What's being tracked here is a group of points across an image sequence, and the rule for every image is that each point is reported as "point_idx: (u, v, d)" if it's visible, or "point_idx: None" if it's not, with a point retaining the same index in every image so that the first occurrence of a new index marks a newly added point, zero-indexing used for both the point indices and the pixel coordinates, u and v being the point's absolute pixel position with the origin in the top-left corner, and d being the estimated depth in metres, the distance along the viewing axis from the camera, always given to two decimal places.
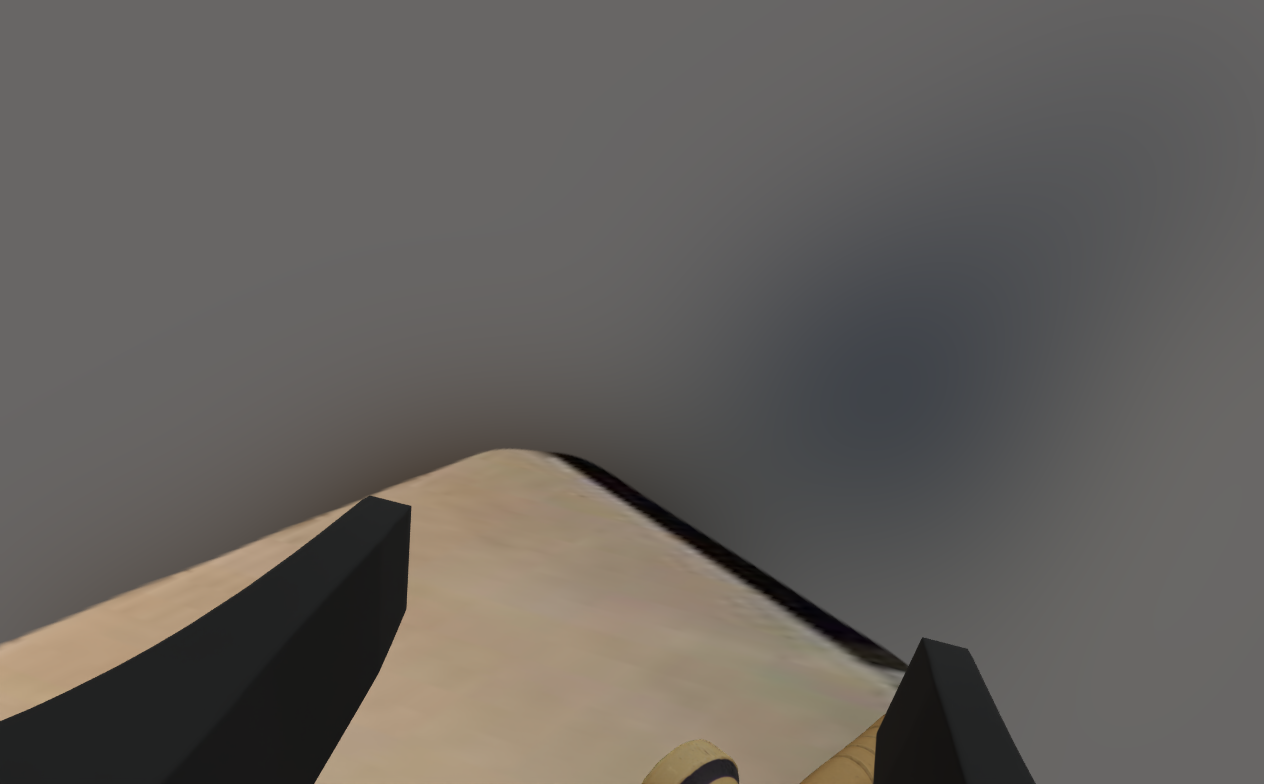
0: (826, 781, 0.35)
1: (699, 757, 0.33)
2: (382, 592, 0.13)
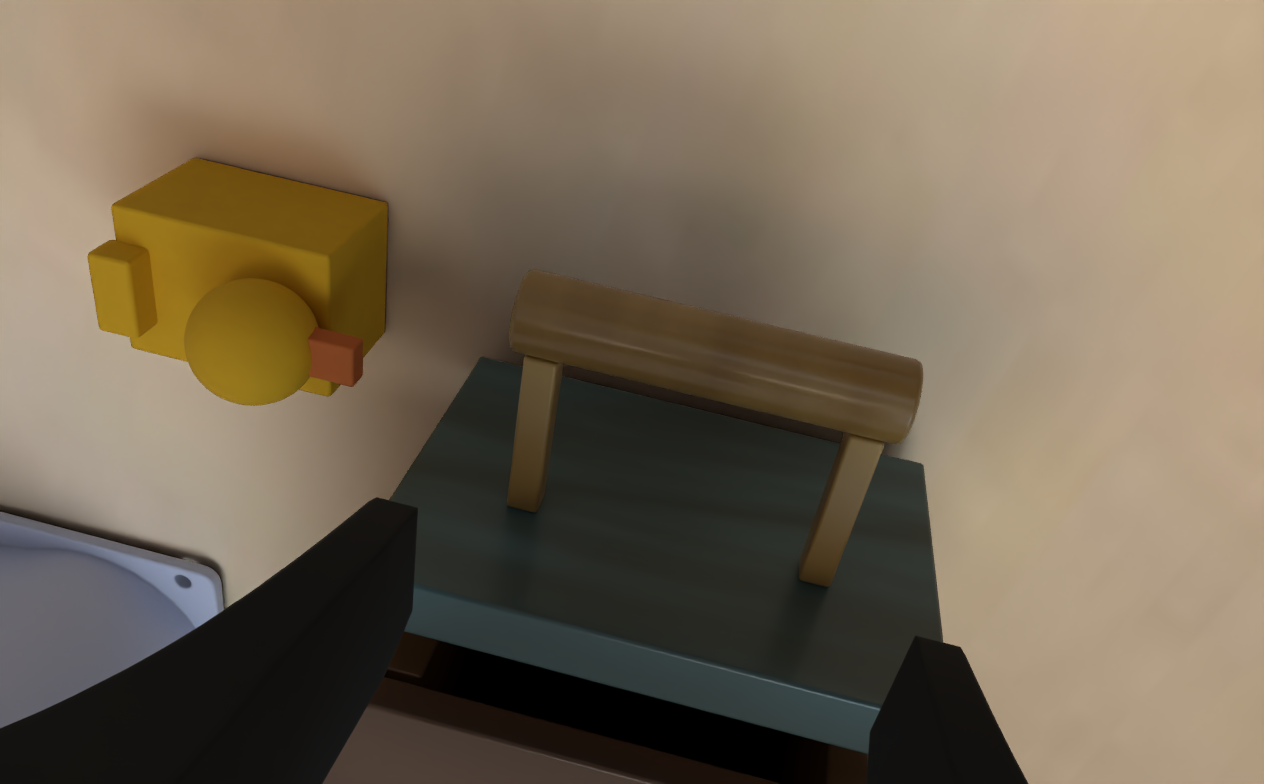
0: None
1: None
2: (389, 594, 0.13)
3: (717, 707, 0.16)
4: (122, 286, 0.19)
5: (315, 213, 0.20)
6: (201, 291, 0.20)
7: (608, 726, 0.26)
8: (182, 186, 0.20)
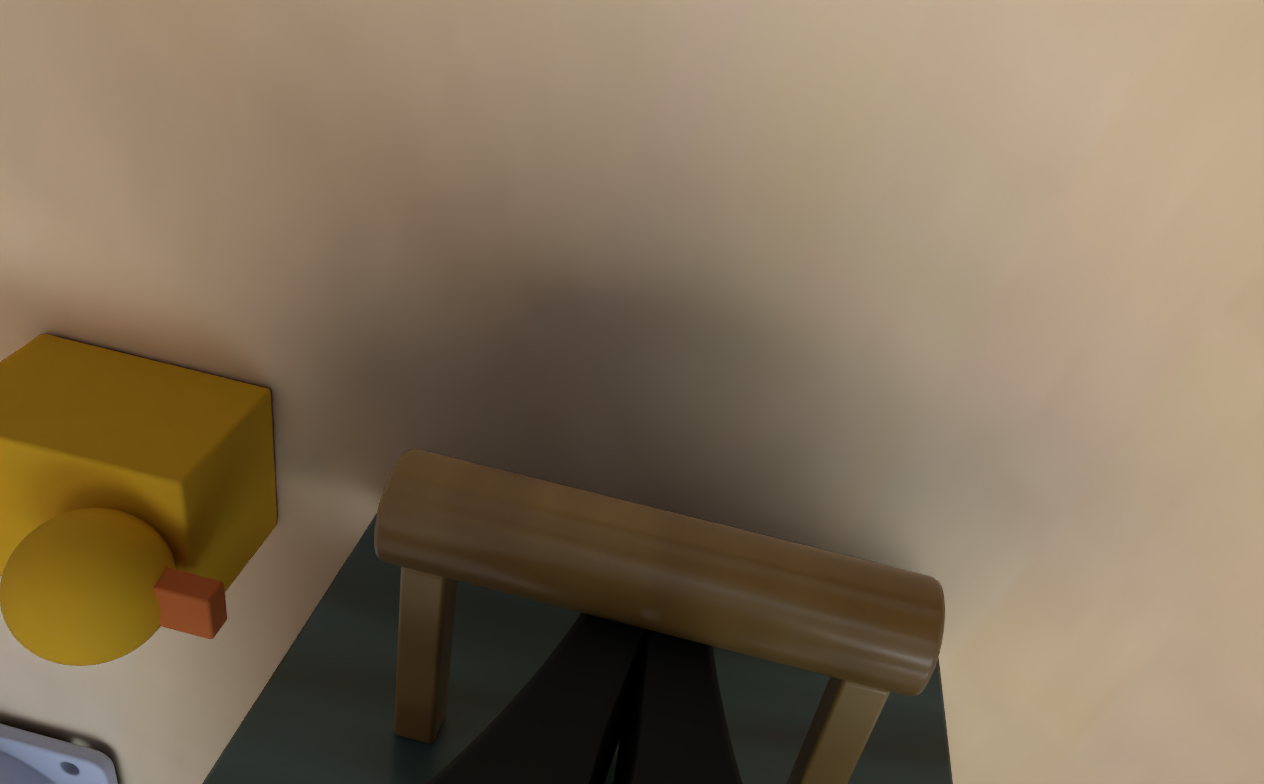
0: None
1: None
2: None
3: None
4: None
5: (176, 413, 0.17)
6: (35, 512, 0.17)
7: None
8: (17, 381, 0.17)
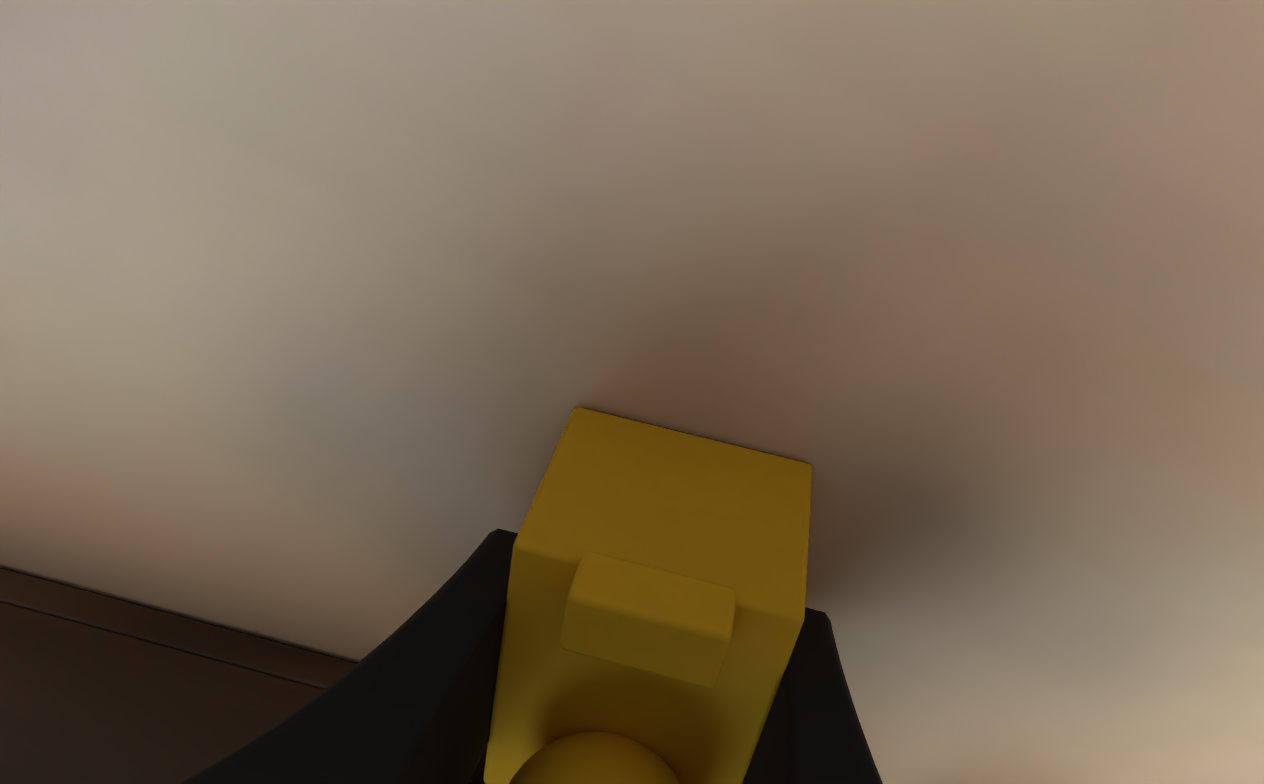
0: None
1: None
2: None
3: None
4: (666, 667, 0.11)
5: None
6: (647, 691, 0.12)
7: None
8: None
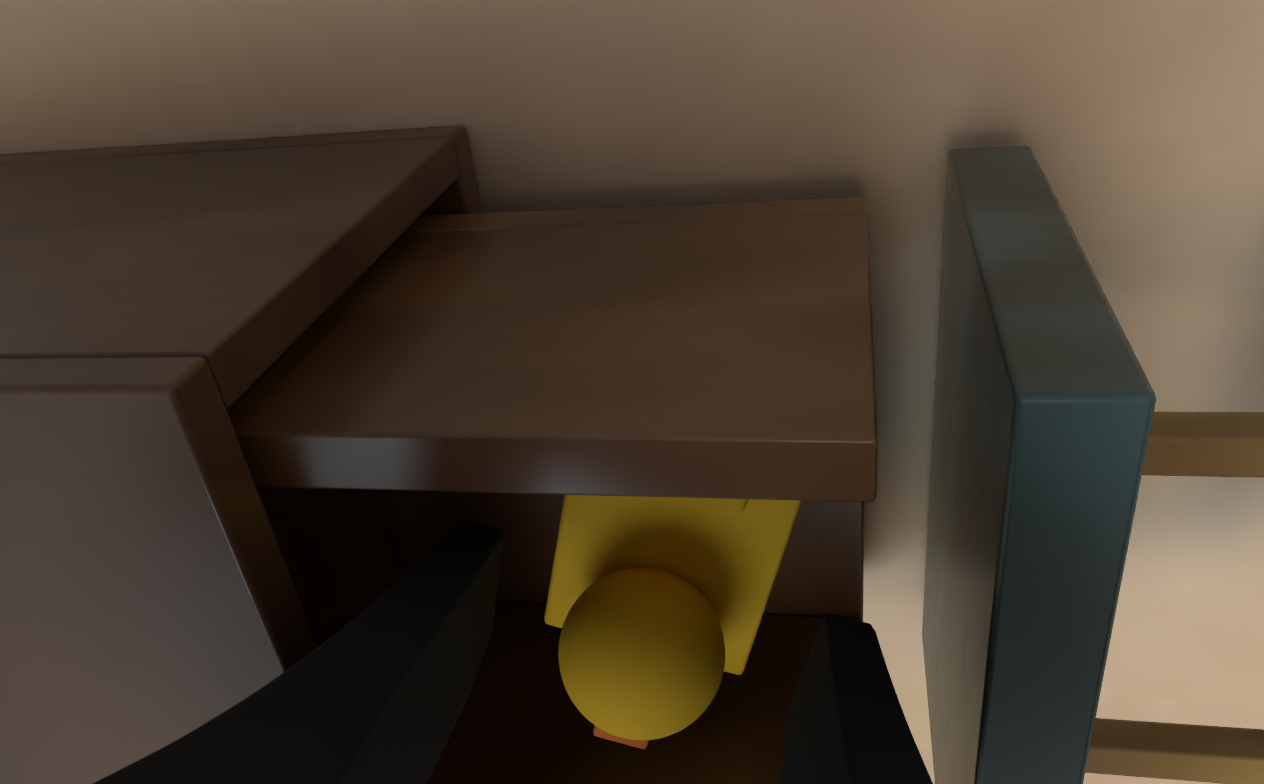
0: None
1: None
2: (477, 617, 0.13)
3: None
4: None
5: None
6: (685, 528, 0.14)
7: None
8: None
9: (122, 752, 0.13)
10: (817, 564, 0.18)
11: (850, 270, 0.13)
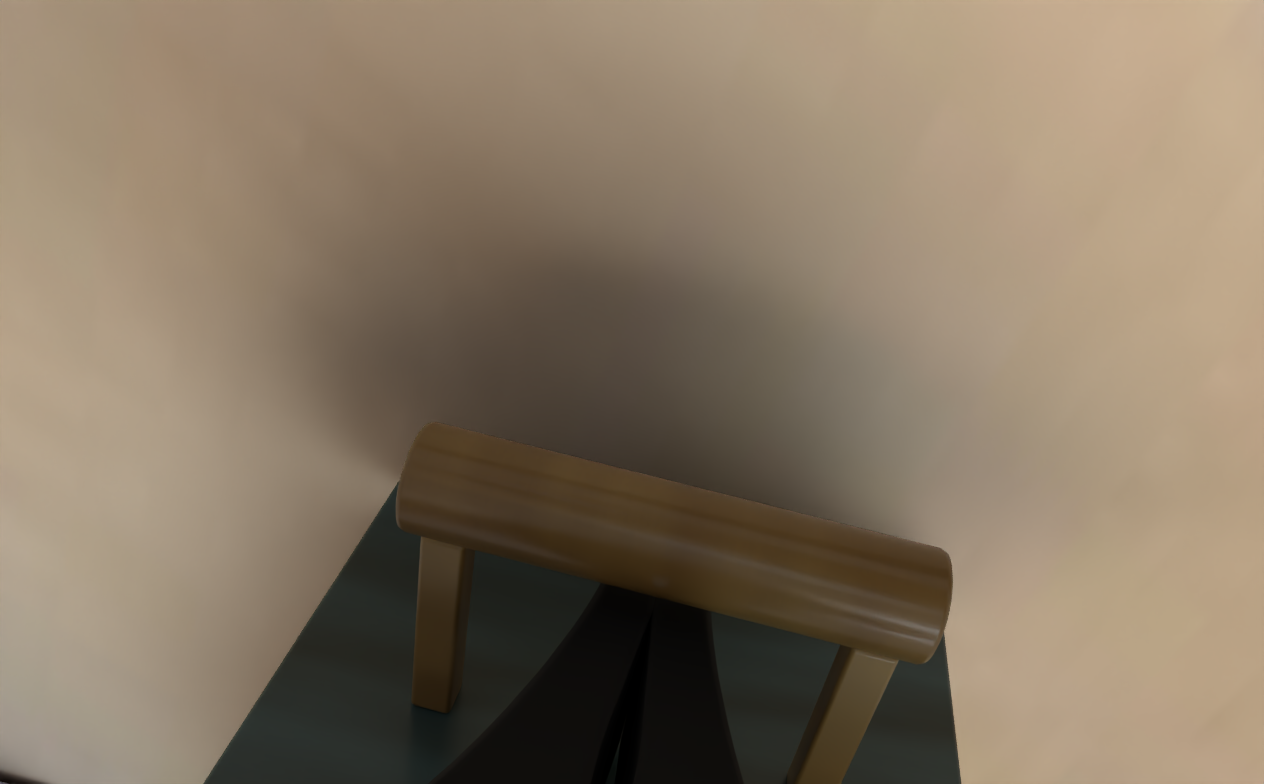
0: None
1: None
2: (638, 660, 0.13)
3: None
4: None
5: None
6: None
7: None
8: None
9: None
10: None
11: None
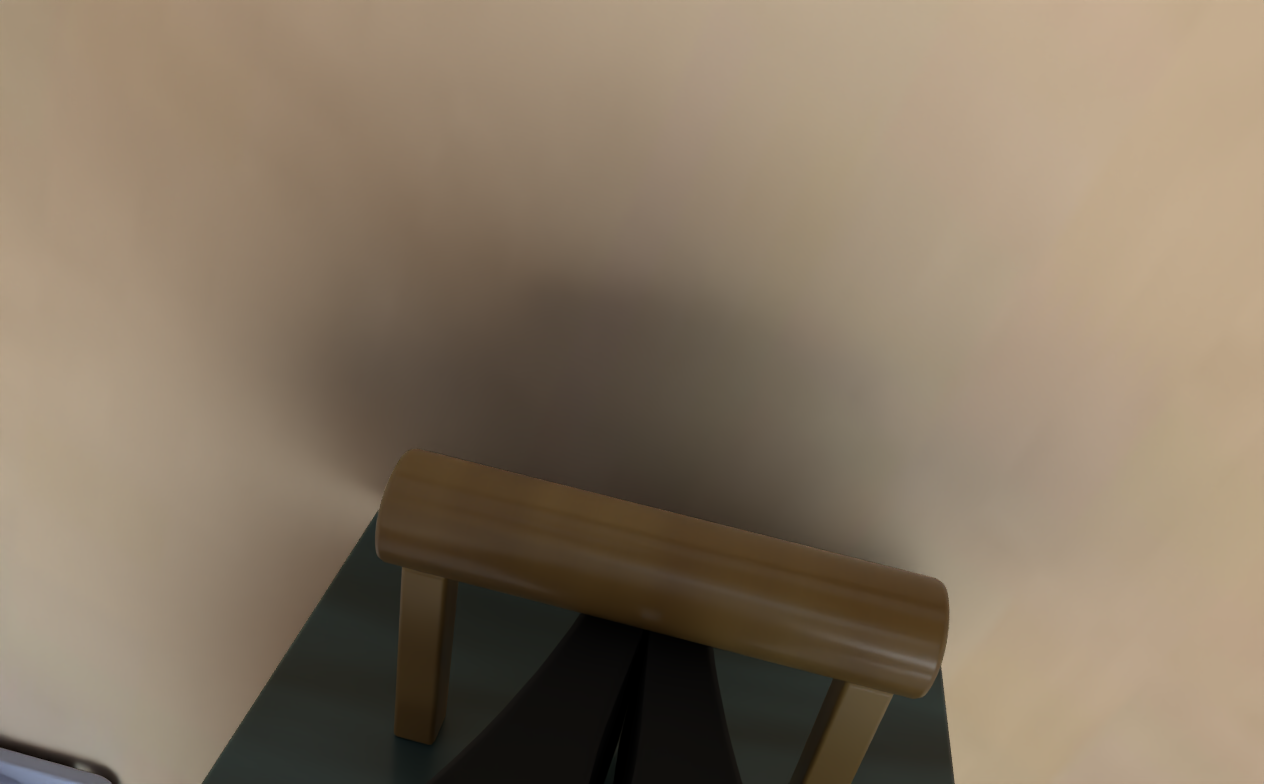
0: None
1: None
2: (637, 659, 0.13)
3: None
4: None
5: None
6: None
7: None
8: None
9: None
10: None
11: None
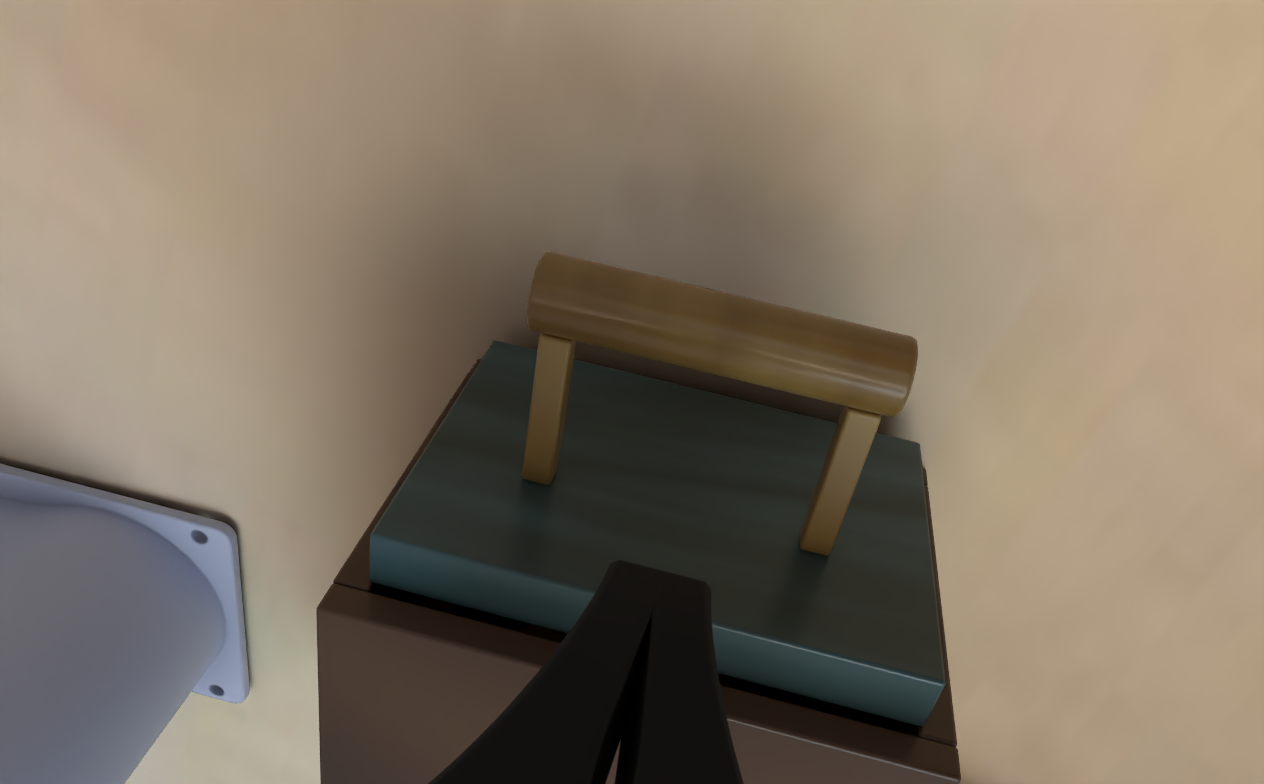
0: None
1: None
2: None
3: (723, 666, 0.17)
4: None
5: None
6: None
7: None
8: None
9: None
10: None
11: None
